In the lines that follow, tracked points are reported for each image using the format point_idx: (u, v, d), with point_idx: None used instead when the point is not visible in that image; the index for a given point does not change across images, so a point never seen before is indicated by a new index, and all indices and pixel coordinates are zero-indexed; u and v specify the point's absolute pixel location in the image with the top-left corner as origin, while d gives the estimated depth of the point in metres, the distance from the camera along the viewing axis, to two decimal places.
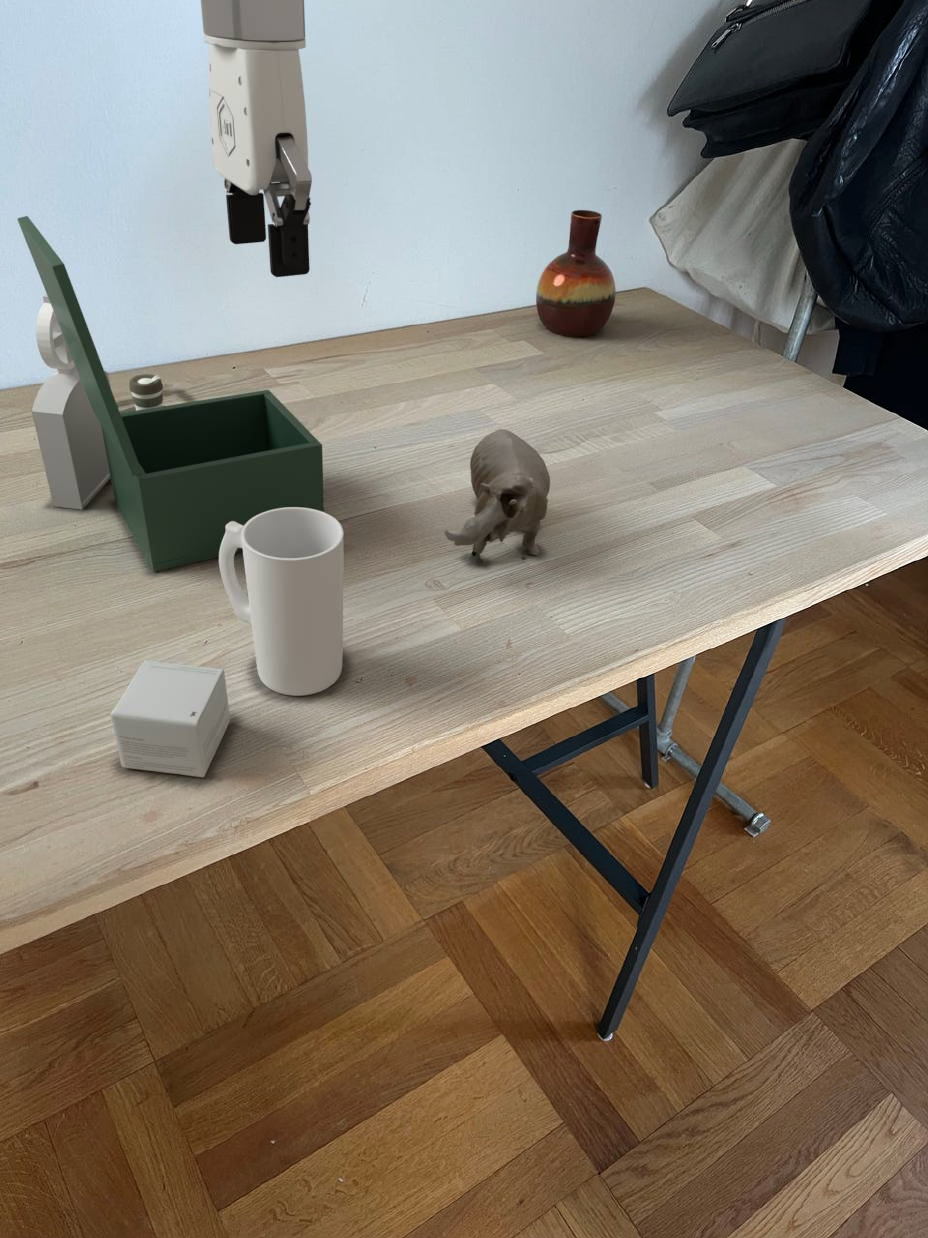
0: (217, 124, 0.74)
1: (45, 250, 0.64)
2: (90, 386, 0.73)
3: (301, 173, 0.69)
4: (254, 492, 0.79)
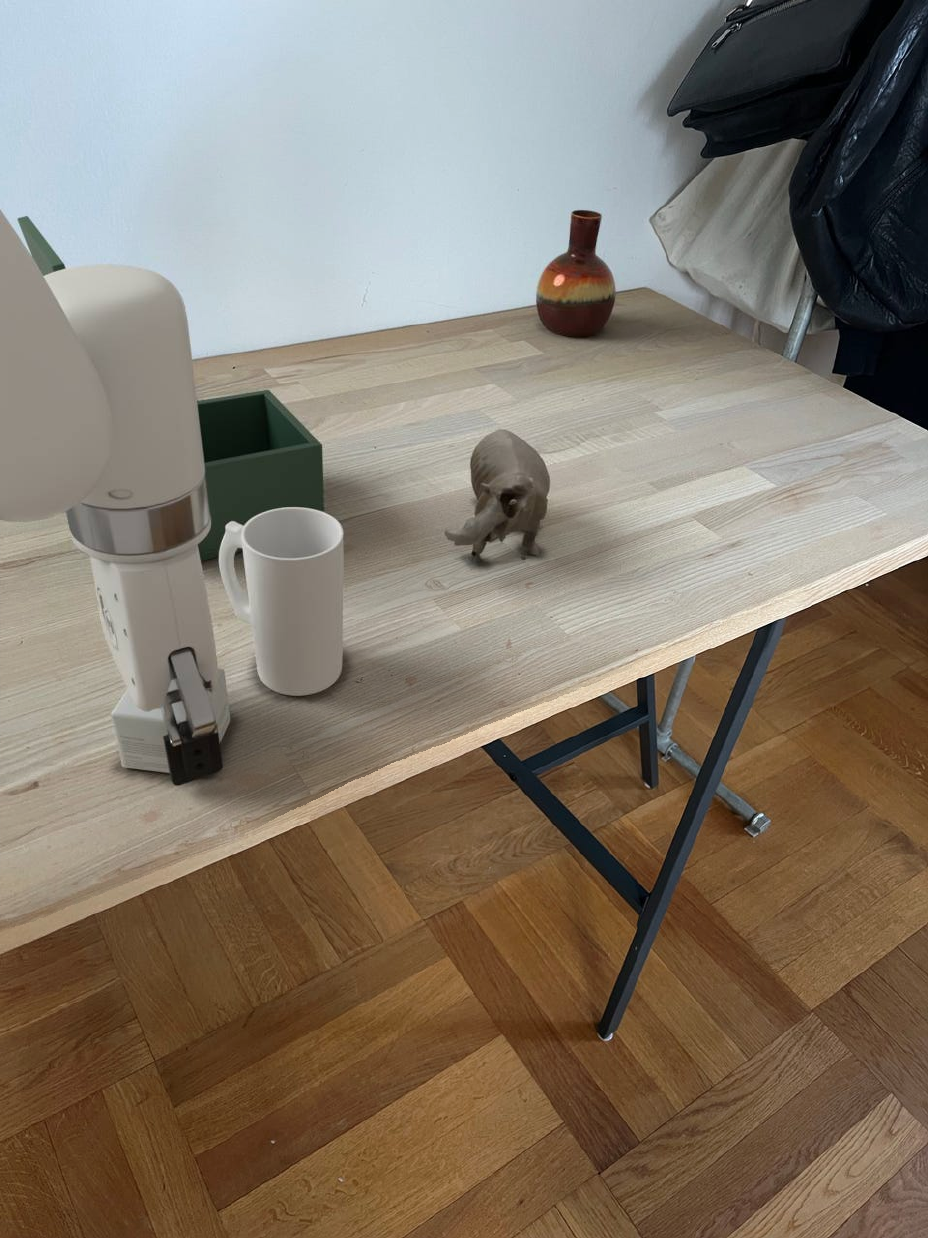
0: (99, 602, 0.56)
1: (45, 250, 0.64)
2: None
3: (201, 720, 0.51)
4: (254, 492, 0.79)
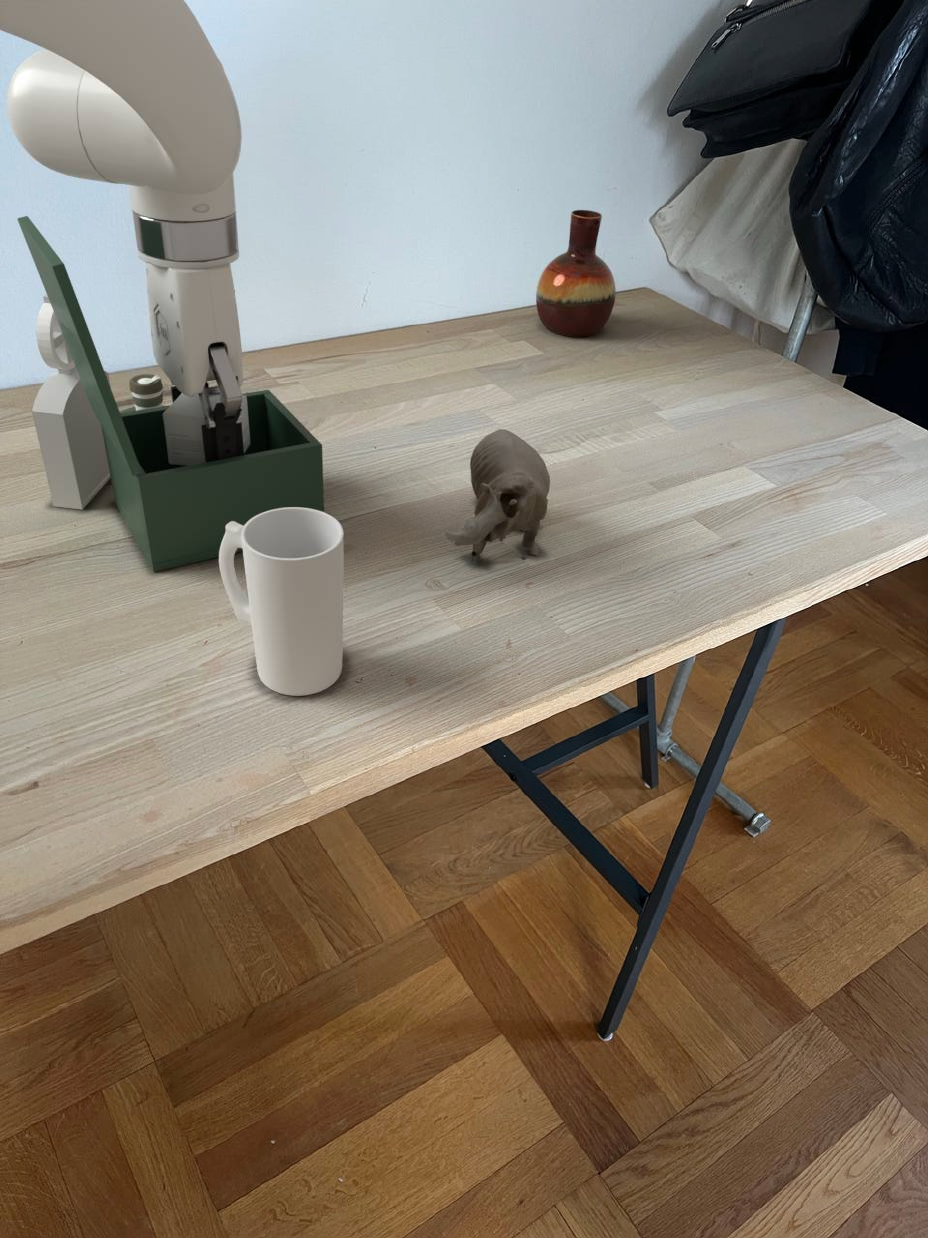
0: (155, 323, 0.75)
1: (45, 250, 0.64)
2: (90, 386, 0.73)
3: (231, 392, 0.71)
4: (254, 492, 0.79)
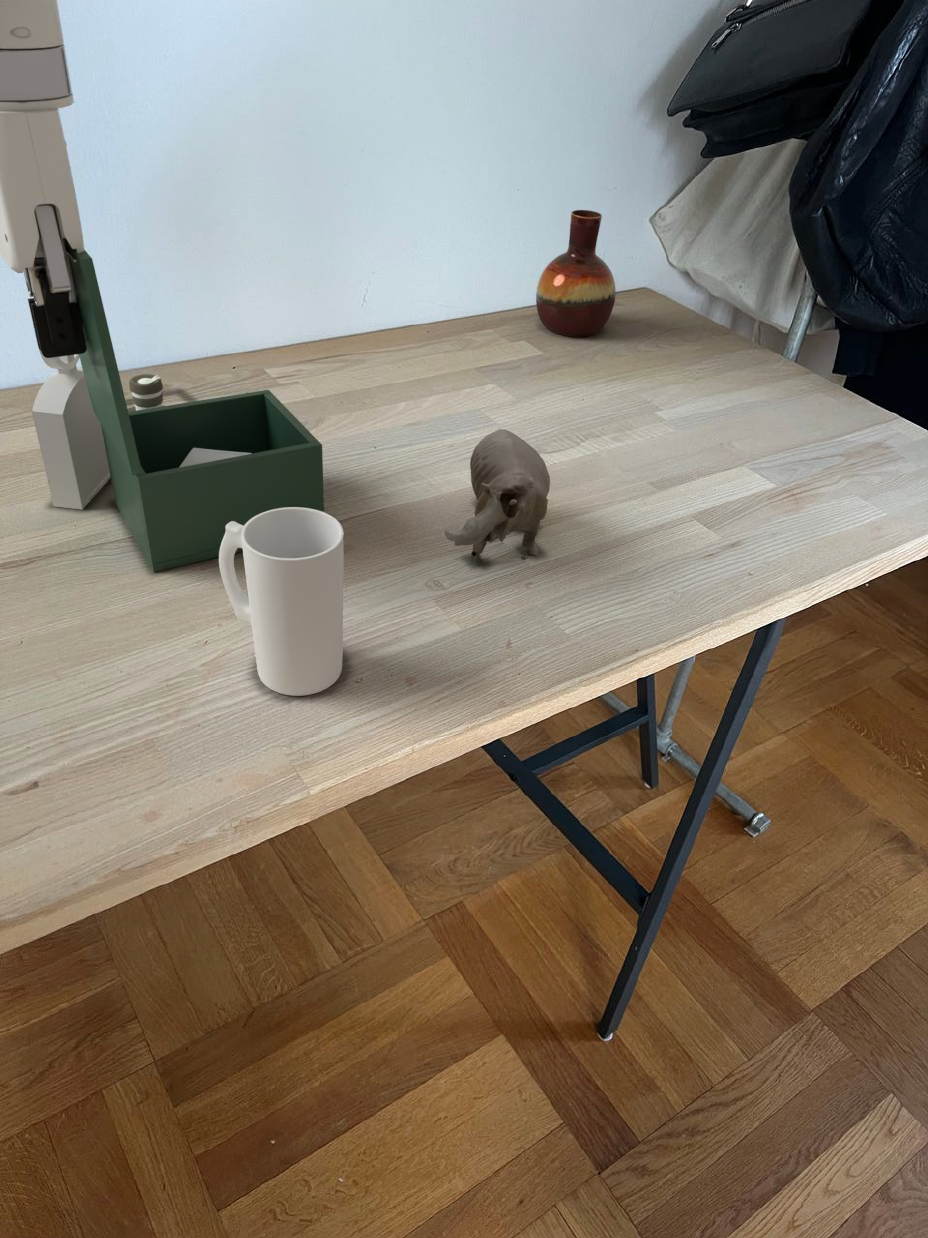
0: None
1: None
2: (97, 383, 0.73)
3: (60, 285, 0.63)
4: (254, 492, 0.79)
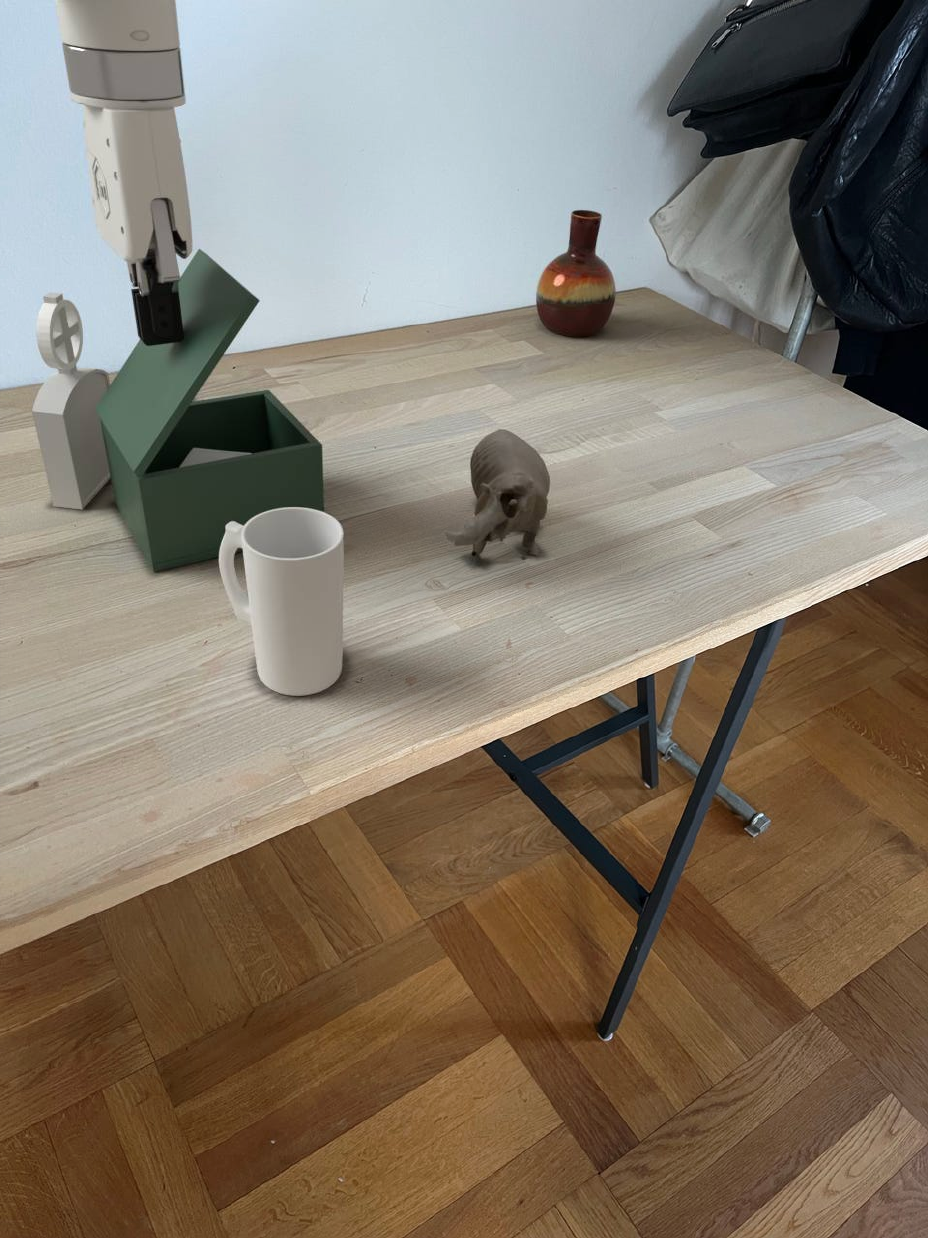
0: (94, 185, 0.67)
1: None
2: (148, 387, 0.75)
3: (169, 276, 0.66)
4: (254, 492, 0.79)
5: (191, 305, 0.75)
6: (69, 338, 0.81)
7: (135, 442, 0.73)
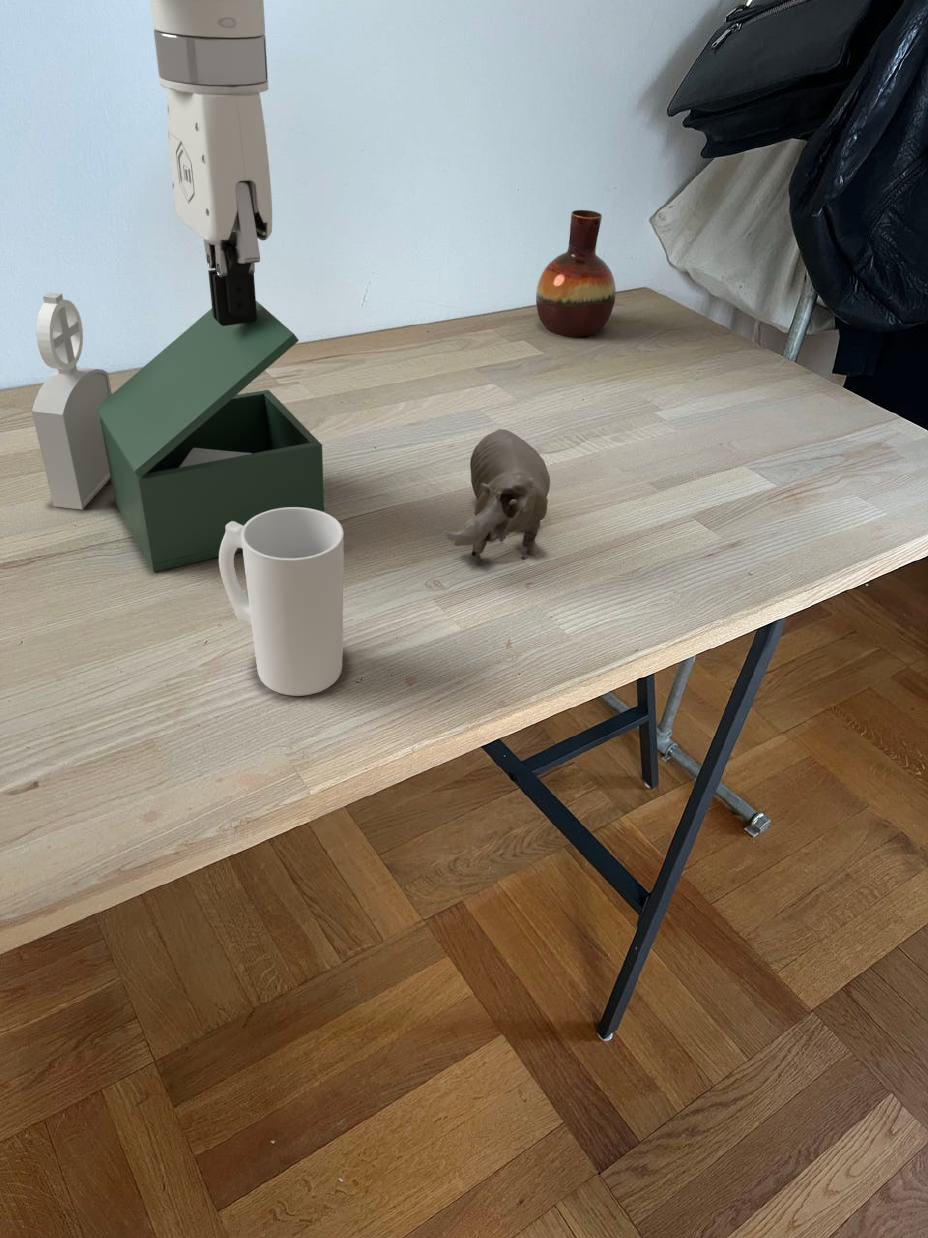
0: (177, 169, 0.70)
1: None
2: (163, 397, 0.76)
3: (250, 256, 0.69)
4: (254, 492, 0.79)
5: (223, 332, 0.78)
6: (69, 338, 0.81)
7: (140, 444, 0.74)
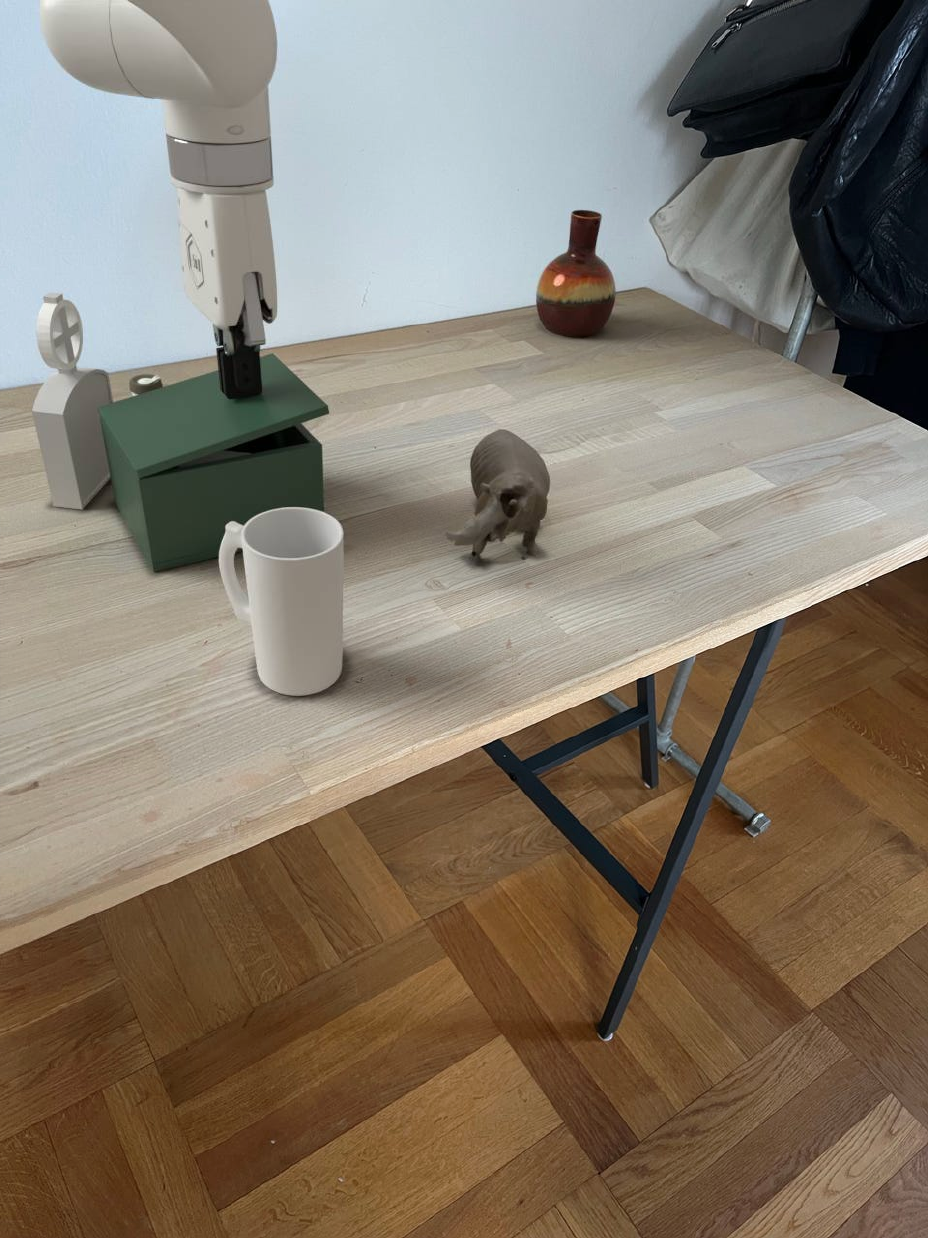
0: (186, 256, 0.73)
1: None
2: (178, 418, 0.78)
3: (256, 340, 0.72)
4: (254, 492, 0.79)
5: None
6: (69, 338, 0.81)
7: (146, 450, 0.74)
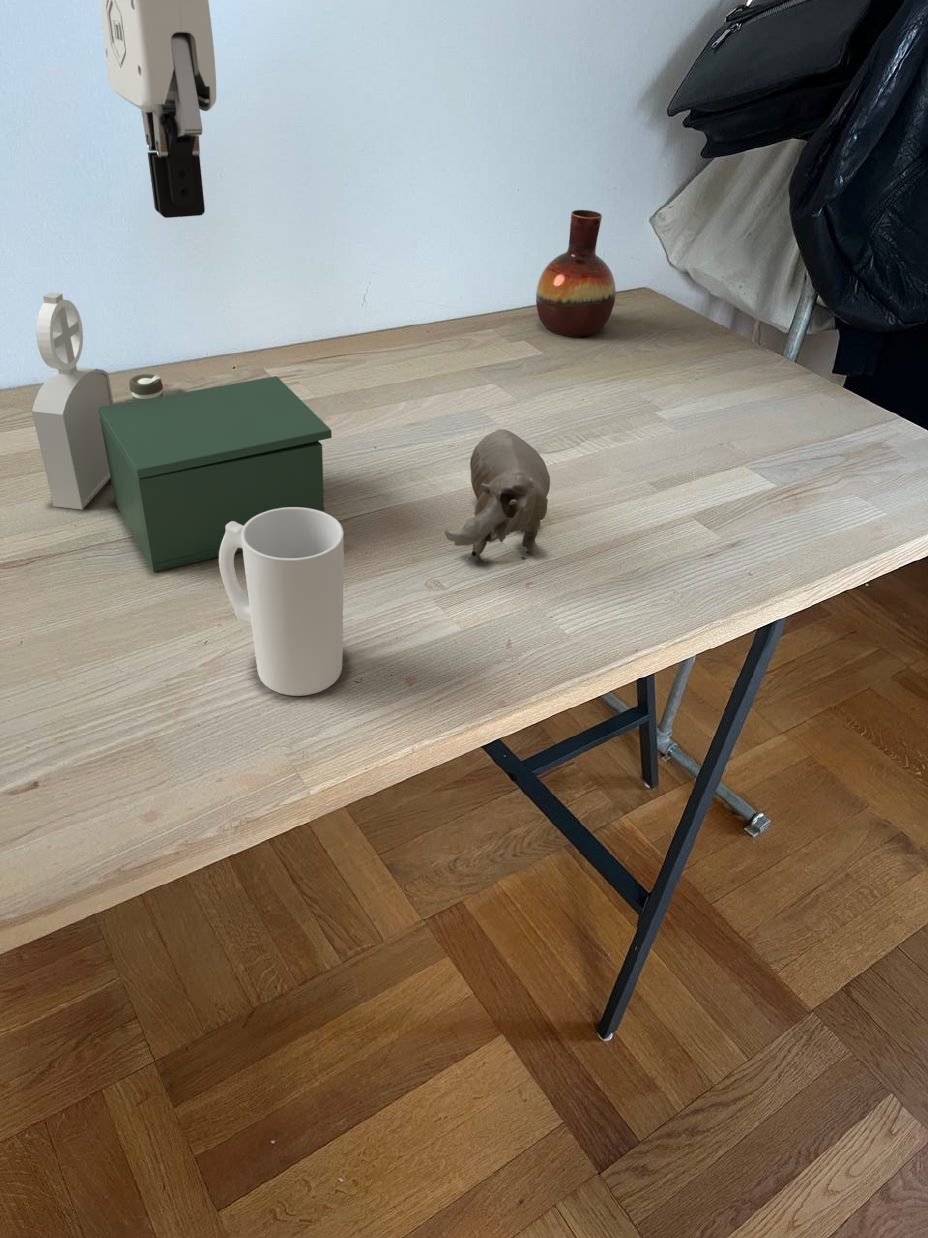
0: (108, 29, 0.61)
1: None
2: (180, 426, 0.78)
3: (191, 126, 0.60)
4: (254, 492, 0.79)
5: (256, 403, 0.83)
6: (69, 338, 0.81)
7: (148, 452, 0.74)
